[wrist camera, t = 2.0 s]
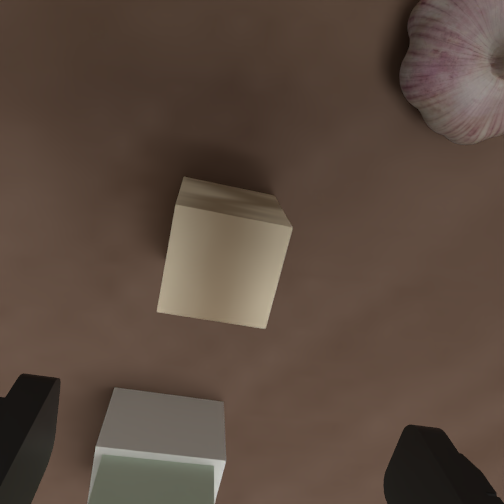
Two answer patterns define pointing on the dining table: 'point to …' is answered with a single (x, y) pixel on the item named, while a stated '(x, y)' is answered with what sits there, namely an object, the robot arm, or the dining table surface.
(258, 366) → the dining table surface
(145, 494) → the sage block
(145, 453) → the grey base block
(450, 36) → the garlic bulb
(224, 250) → the beige metal block
